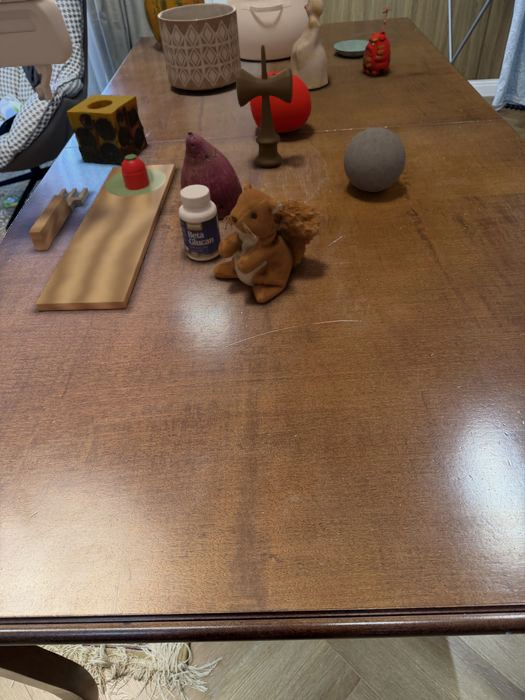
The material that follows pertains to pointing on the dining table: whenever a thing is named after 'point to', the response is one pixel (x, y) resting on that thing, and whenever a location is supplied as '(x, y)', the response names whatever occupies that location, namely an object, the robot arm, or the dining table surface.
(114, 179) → the plate
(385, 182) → the decorative ball
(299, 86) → the tomato
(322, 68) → the figurine
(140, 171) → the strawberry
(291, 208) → the stuffed squirrel
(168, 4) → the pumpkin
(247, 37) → the pot
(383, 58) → the red clay folk toy
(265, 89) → the kendama
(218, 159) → the vegetable
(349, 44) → the saucer
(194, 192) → the pill bottle
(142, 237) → the board
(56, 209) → the tan wooden bar
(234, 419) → the dining table surface
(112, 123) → the spotted cube with hole
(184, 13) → the planter
